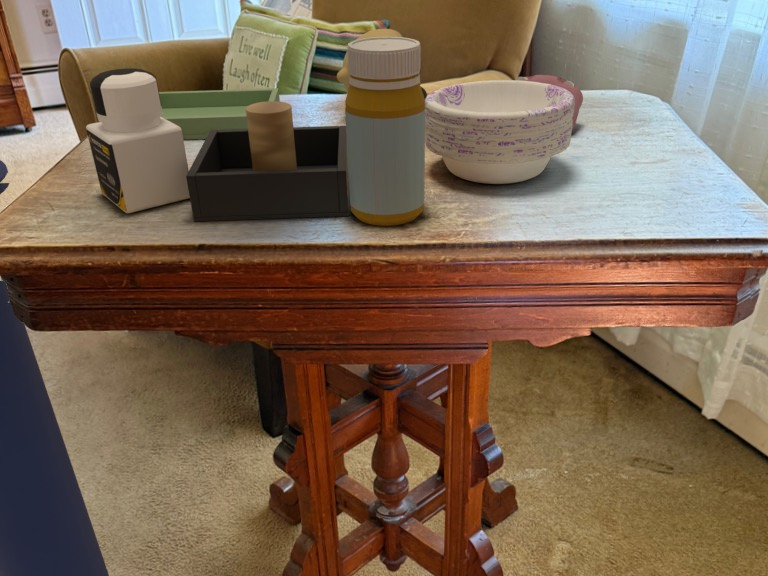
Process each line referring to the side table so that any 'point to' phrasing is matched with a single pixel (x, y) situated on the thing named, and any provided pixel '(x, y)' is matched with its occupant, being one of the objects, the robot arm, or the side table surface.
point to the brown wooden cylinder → (271, 136)
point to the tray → (211, 109)
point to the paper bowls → (498, 128)
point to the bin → (270, 178)
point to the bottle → (385, 130)
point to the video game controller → (563, 84)
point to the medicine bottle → (135, 142)
